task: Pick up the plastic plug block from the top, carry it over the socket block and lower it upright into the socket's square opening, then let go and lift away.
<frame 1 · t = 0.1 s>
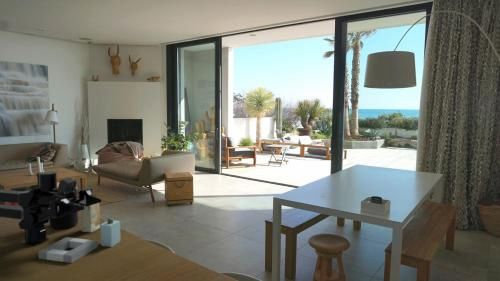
hand: (92, 204, 124), 17 cm above the table, tool horizontal, fingers open, 9 cm apart
socket block: (69, 252, 123), on the table
coffee jar: (64, 226, 149), on the table
plug: (110, 243, 131), on the table
skincare box: (91, 230, 145), on the table
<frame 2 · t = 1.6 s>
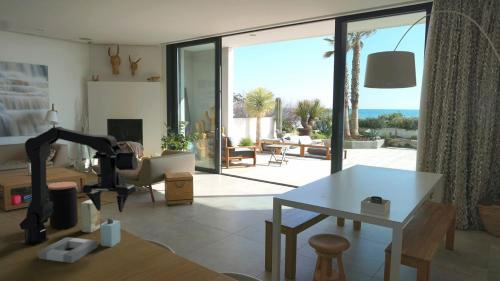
hand: (110, 211, 130), 12 cm above the table, tool pointing down, fingers open, 9 cm apart
nothing on the table moved.
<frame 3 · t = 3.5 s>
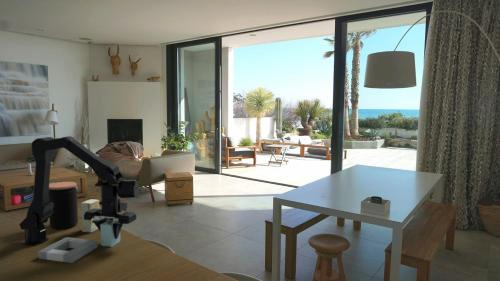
hand: (110, 238, 131), 2 cm above the table, tool pointing down, fingers closed on plug, 4 cm apart
plug: (110, 243, 131), on the table, touching gripper
everything else where it was.
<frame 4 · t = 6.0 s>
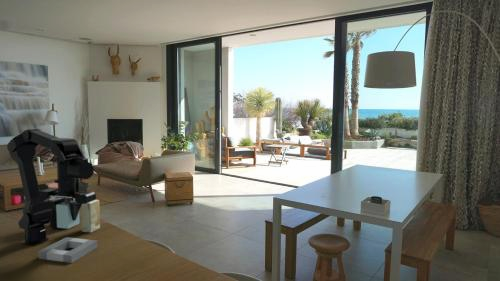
hand: (68, 219, 122), 12 cm above the table, tool pointing down, fingers closed on plug, 4 cm apart
plug: (68, 225, 122), point 10 cm above the table, touching gripper
everything else where it was.
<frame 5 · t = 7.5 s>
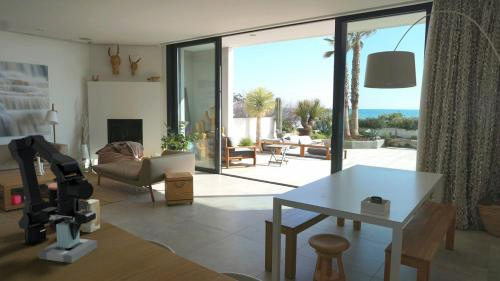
hand: (68, 238, 122), 5 cm above the table, tool pointing down, fingers closed on plug, 4 cm apart
plug: (68, 244, 122), point 3 cm above the table, touching gripper
everything else where it was.
when the fingers open (3 cm above the table, at t = 8.7 s): plug drops 2 cm, resting in socket block.
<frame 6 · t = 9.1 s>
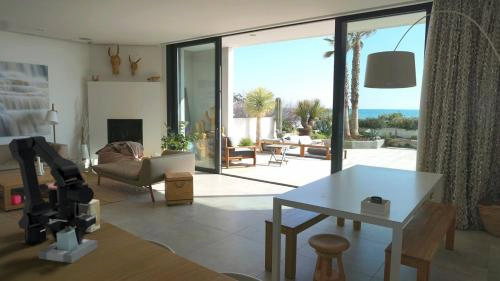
hand: (68, 243, 122), 3 cm above the table, tool pointing down, fingers open, 9 cm apart
plug: (69, 252, 123), resting in socket block
everything else where it was.
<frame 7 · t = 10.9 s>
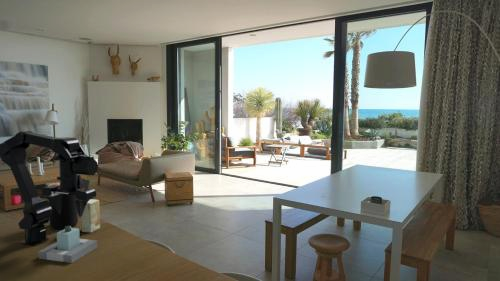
hand: (69, 215, 127), 12 cm above the table, tool pointing down, fingers open, 9 cm apart
nothing on the table moved.
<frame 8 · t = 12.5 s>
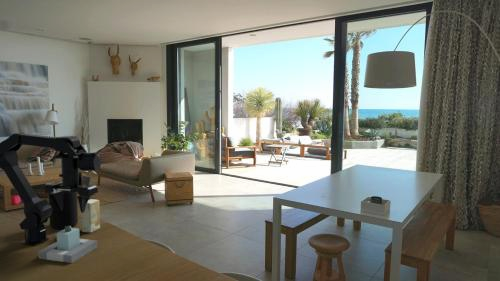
hand: (72, 211, 130), 12 cm above the table, tool pointing down, fingers open, 9 cm apart
nothing on the table moved.
at the end: plug 0.1 cm off-centre on the socket block, point 0.0 cm above the socket block's base; plug tilted 0°; the gripper is holding nothing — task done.
